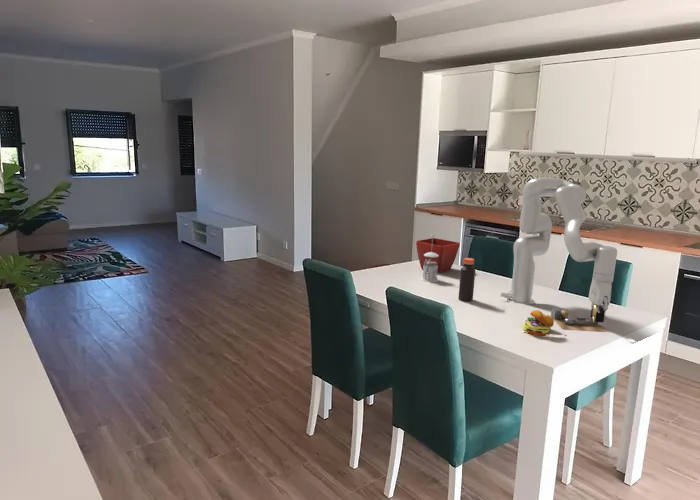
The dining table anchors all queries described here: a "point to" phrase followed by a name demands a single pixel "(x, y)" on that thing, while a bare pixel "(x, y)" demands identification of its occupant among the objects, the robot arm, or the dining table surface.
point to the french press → (430, 267)
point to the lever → (583, 318)
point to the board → (580, 326)
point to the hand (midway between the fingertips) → (596, 319)
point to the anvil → (556, 313)
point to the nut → (564, 314)
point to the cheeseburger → (538, 323)
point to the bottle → (467, 280)
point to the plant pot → (438, 252)
